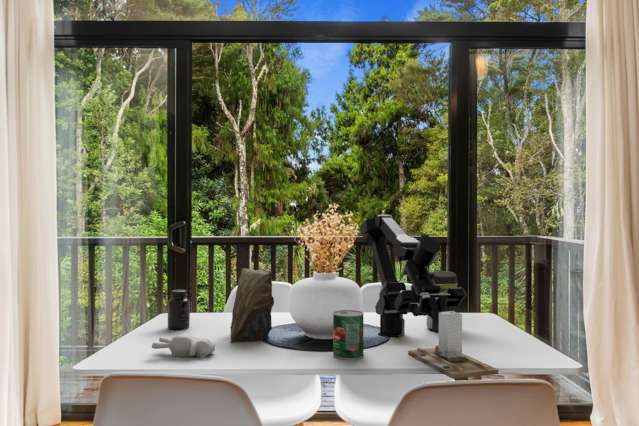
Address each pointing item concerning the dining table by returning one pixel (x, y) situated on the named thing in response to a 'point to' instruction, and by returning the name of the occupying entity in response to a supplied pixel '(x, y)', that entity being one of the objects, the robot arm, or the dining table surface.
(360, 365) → the dining table surface
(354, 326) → the canned tomato
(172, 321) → the supplement bottle
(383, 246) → the robot arm
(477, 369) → the trammel board
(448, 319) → the grey rectangular block
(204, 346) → the bunny figurine
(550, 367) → the dining table surface
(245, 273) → the tall brown stone
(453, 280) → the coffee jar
